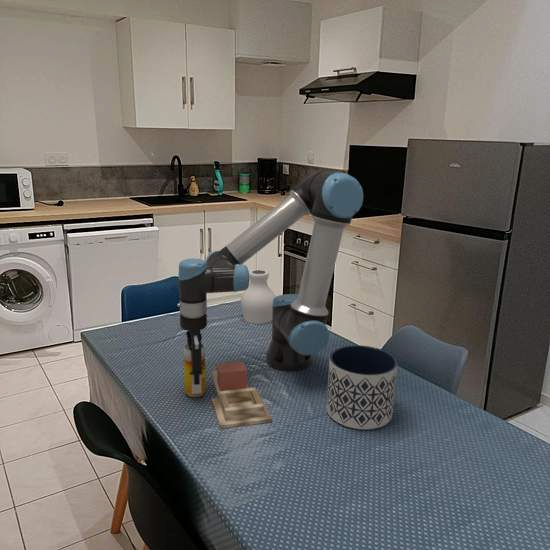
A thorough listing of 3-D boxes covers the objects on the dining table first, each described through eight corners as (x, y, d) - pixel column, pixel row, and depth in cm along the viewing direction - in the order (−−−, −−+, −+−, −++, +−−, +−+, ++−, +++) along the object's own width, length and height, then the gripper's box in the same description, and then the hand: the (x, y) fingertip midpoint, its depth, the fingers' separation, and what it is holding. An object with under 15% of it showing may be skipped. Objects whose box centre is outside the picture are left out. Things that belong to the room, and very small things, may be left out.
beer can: (201, 399, 150) (200, 351, 146) (181, 396, 151) (180, 349, 147) (208, 389, 156) (207, 343, 151) (189, 386, 157) (187, 341, 152)
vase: (236, 324, 205) (236, 275, 199) (244, 311, 219) (245, 265, 213) (272, 327, 203) (273, 278, 197) (278, 314, 217) (279, 268, 211)
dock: (246, 369, 168) (247, 358, 167) (271, 422, 140) (271, 408, 138) (203, 374, 165) (203, 362, 163) (220, 428, 136) (219, 415, 135)
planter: (352, 389, 158) (356, 339, 153) (404, 413, 145) (410, 360, 140) (312, 411, 145) (315, 357, 140) (366, 439, 133) (371, 382, 128)
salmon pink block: (242, 378, 160) (242, 361, 158) (246, 388, 155) (246, 370, 153) (216, 381, 158) (216, 363, 156) (220, 391, 153) (220, 372, 151)
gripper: (176, 303, 154) (179, 373, 161) (183, 327, 136) (185, 405, 143) (202, 301, 156) (203, 371, 163) (211, 325, 138) (212, 402, 145)
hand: (195, 387), depth 153 cm, fingers closed on beer can, 6 cm apart
